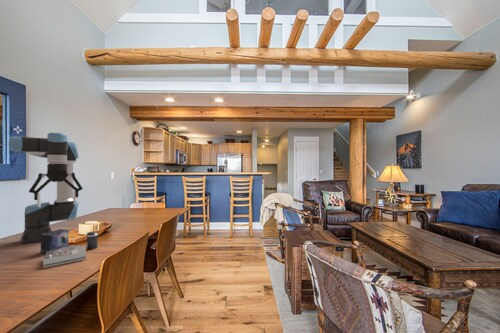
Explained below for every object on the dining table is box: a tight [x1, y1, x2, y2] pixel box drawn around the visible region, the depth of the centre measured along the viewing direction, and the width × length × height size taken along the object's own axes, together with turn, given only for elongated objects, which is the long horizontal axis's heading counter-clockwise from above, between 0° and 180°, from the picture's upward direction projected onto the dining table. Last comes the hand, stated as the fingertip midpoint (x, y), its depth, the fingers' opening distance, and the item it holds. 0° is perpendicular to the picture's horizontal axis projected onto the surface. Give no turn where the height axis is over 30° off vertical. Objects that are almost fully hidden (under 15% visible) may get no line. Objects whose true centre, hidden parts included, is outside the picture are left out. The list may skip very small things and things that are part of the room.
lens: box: [86, 231, 99, 251], centre depth 126 cm, size 5×5×9 cm
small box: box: [39, 228, 69, 254], centre depth 123 cm, size 11×6×10 cm, turn 168°
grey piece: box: [42, 244, 87, 269], centre depth 111 cm, size 12×16×5 cm
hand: (57, 205), depth 110 cm, fingers open, 13 cm apart
